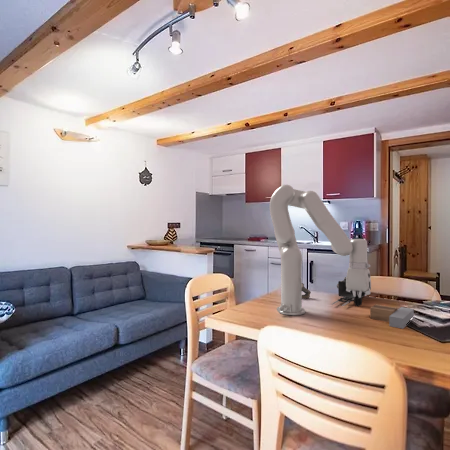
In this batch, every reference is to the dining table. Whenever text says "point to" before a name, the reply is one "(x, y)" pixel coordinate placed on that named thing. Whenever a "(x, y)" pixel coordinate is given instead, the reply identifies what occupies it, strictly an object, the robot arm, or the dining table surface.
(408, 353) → the dining table surface
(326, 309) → the dining table surface
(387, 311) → the walnut block
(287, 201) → the robot arm
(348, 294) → the film camera
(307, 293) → the futuristic pistol
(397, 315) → the board
